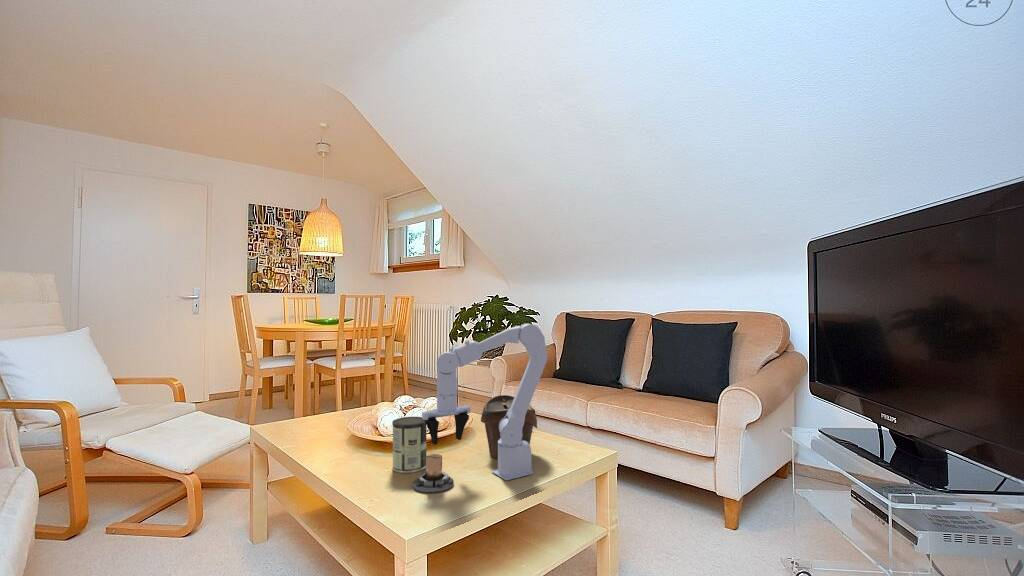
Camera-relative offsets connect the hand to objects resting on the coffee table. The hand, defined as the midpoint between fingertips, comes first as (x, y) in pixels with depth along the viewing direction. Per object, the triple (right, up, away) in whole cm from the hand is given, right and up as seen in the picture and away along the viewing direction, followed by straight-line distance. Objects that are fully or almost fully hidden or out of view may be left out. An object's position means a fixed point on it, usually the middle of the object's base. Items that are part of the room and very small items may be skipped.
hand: (446, 441), depth 136 cm
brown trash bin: (+18, -11, +19) cm, 28 cm away
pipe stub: (-2, -9, -7) cm, 12 cm away
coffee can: (-12, -10, +7) cm, 18 cm away
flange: (-3, -10, -7) cm, 12 cm away
